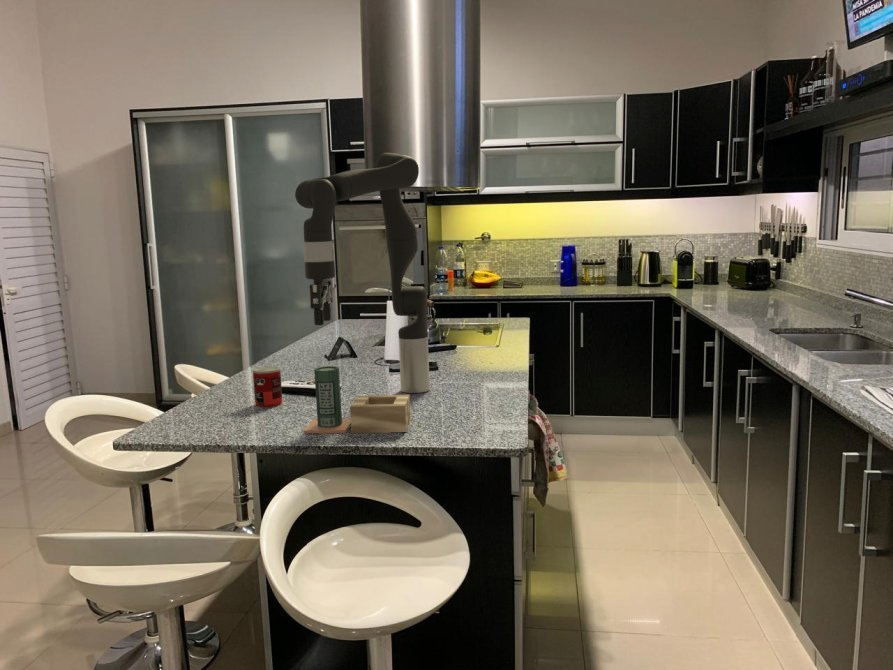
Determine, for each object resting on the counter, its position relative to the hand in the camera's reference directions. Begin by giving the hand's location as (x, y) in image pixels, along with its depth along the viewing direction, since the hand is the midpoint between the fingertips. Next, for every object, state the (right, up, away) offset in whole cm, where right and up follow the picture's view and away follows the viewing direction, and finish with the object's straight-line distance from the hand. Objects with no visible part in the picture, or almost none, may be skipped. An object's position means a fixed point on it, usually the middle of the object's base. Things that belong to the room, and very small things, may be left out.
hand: (323, 322), depth 183 cm
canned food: (-22, -24, +31) cm, 45 cm away
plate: (+1, -28, +4) cm, 28 cm away
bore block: (+15, -27, +4) cm, 31 cm away
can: (+1, -27, +4) cm, 27 cm away
